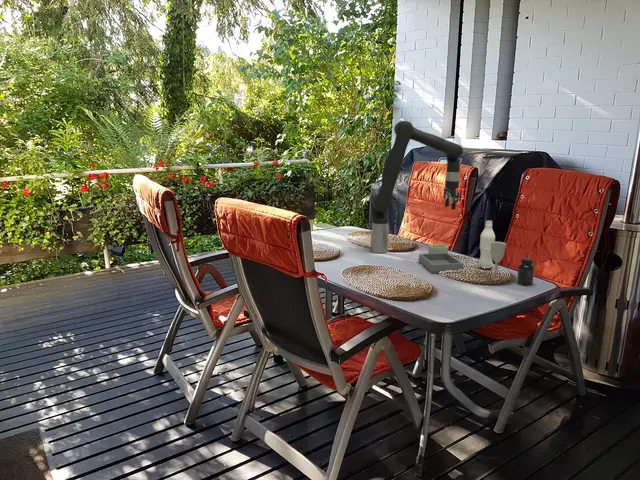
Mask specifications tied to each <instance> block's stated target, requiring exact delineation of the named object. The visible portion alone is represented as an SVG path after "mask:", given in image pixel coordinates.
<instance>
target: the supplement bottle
mask: <svg viewBox="0 0 640 480" xmlns="http://www.w3.org/2000/svg"><path fill="white" fill-rule="evenodd" d="M533 261H534V260H533V258H529V257H522V258H521V263H519V264H518V269H517V279H516V283H517V282H518V283H519V284H518V283H517V284H518V285H520V284H522V285H521V286H524V285H530V286H533V284H534V274H535V265H534V264H533V263H534V262H533Z"/></svg>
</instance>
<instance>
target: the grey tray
mask: <svg viewBox="0 0 640 480" xmlns="http://www.w3.org/2000/svg"><path fill="white" fill-rule="evenodd" d="M418 263H419V264H420V263H421V264H420V265H421V266H423V267H424V266H425V267H426V268H425V267H424V268H425V269H427V271H429V272H430V273H431V274H433V275H434V274H436V273H437V274H439V273H438V272H440V271H446V270H458V269H463V270H464V263H463V261H460V260H459V259H458V258H457V257H455V256H453V255H452V254H450V253H449V252H448V253H432V254H428V253H419V254H418Z"/></svg>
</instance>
